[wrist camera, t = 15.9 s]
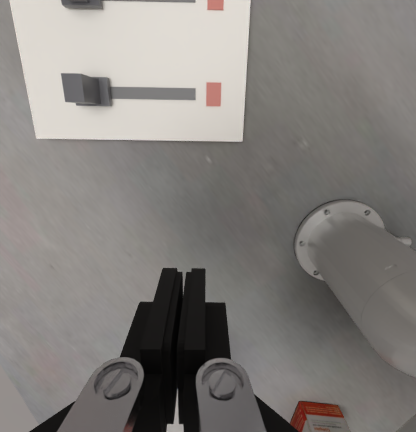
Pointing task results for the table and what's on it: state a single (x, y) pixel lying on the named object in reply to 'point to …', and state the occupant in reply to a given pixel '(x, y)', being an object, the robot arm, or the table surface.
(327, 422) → the medicine box
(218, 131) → the breaker panel
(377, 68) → the table surface
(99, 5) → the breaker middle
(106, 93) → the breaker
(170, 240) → the table surface
